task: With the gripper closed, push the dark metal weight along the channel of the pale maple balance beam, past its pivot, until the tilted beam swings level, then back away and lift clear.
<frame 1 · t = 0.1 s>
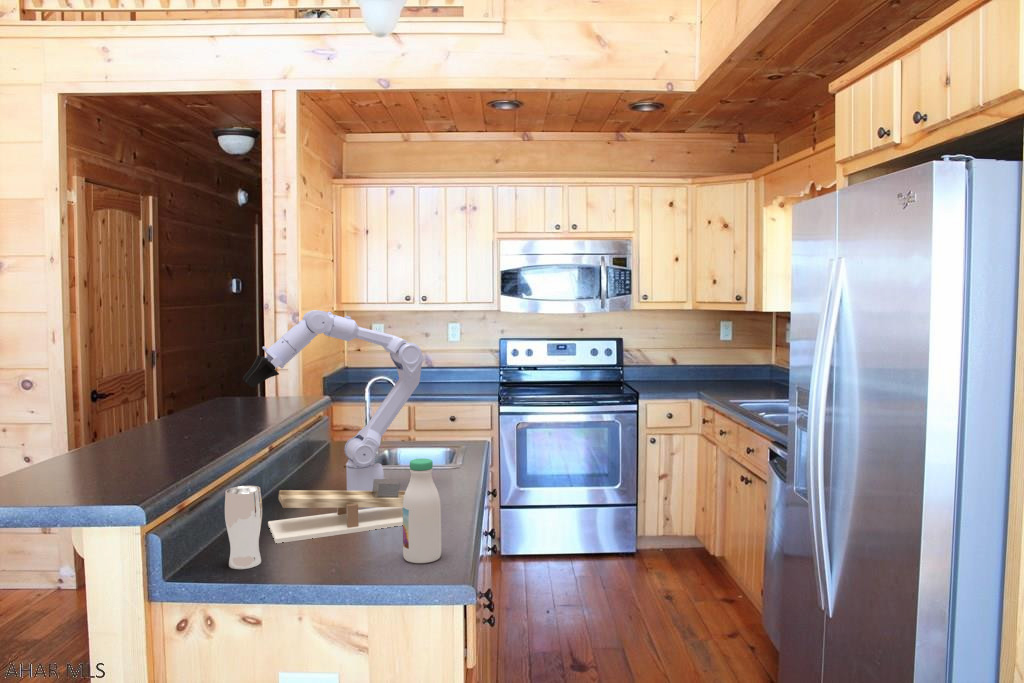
hand: (246, 383, 179), 32 cm above the counter, tool tilted 50°, fingers open, 7 cm apart
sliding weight: (384, 497, 174), point 5 cm above the counter, tilted 7°, touching balance beam
beam stand: (347, 524, 170), on the counter
milk bottle: (422, 558, 148), on the counter
beer glass: (245, 564, 145), on the counter
balance beam: (347, 500, 170), point 6 cm above the counter, hinge at -6.9°, touching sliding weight
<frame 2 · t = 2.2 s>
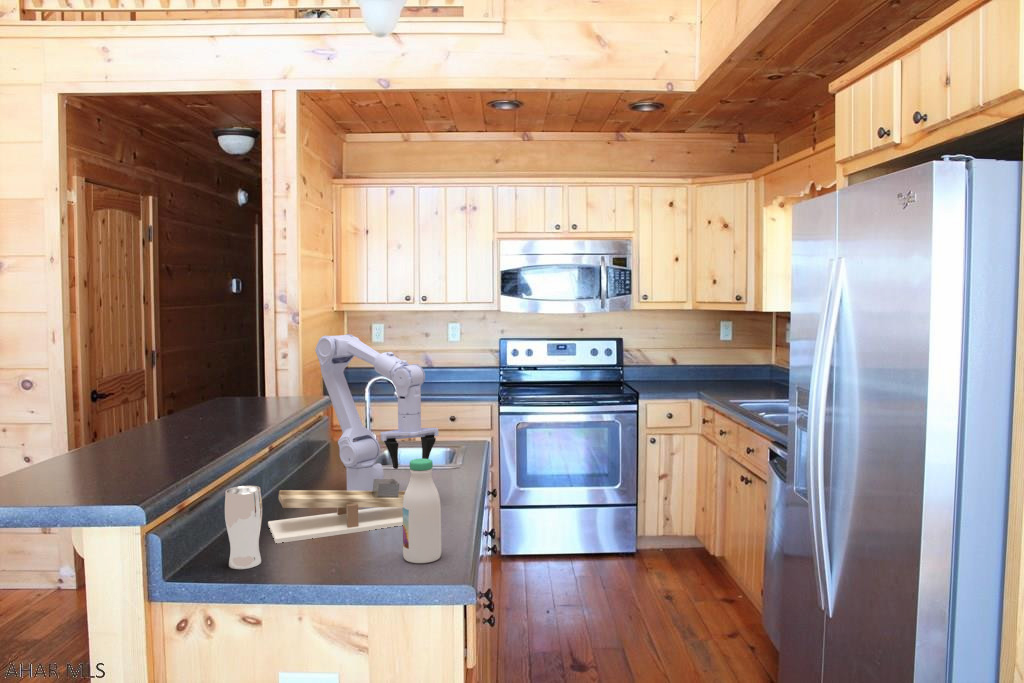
hand: (410, 466, 183), 10 cm above the counter, tool pointing down, fingers open, 7 cm apart
nothing on the counter moved.
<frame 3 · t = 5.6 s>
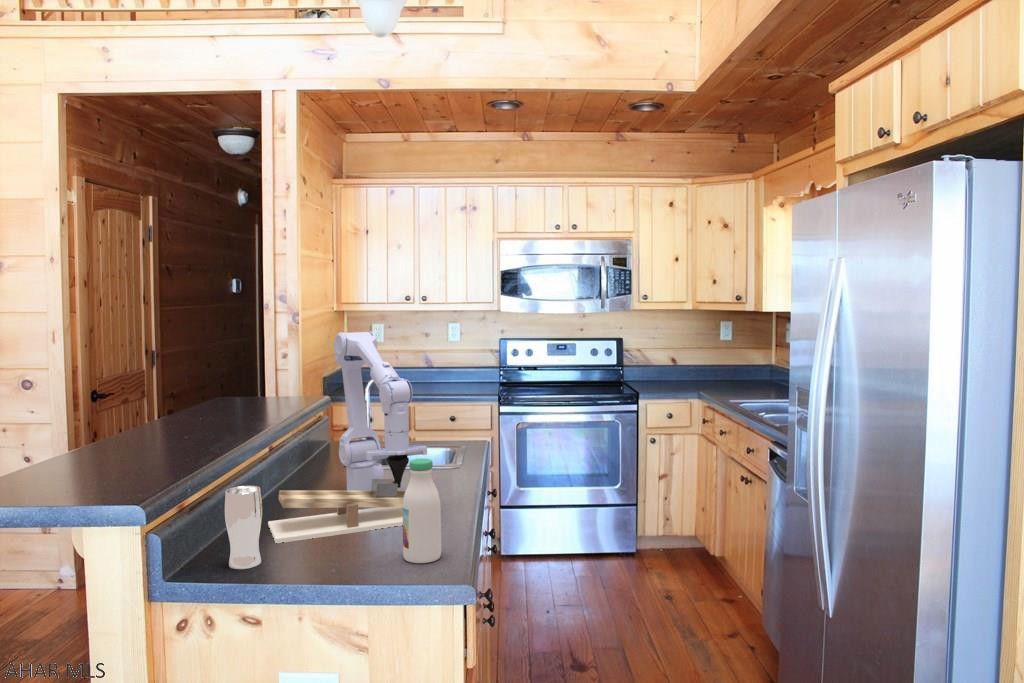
hand: (397, 486, 175), 7 cm above the counter, tool pointing down, fingers closed
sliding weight: (383, 497, 173), point 5 cm above the counter, tilted 7°, touching gripper
balance beam: (347, 500, 170), point 6 cm above the counter, hinge at -6.8°
everything else where it was.
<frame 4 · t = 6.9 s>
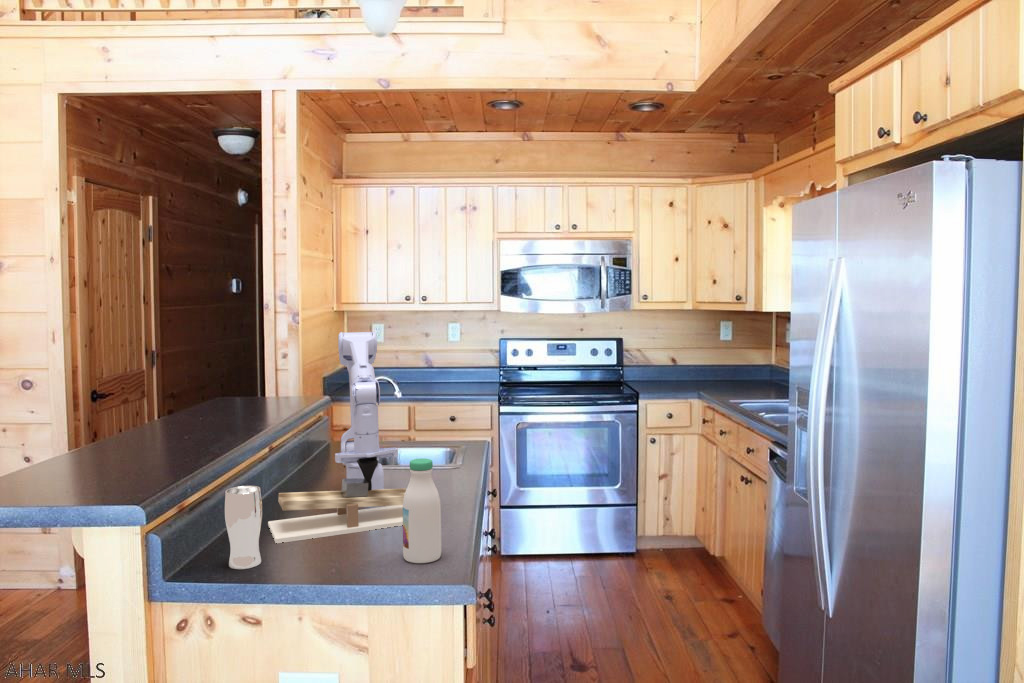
hand: (367, 489, 172), 8 cm above the counter, tool pointing down, fingers closed, pressing on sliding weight
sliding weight: (354, 497, 171), point 6 cm above the counter, touching balance beam, gripper
balance beam: (347, 500, 170), point 6 cm above the counter, hinge at -4.6°, touching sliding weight
everything else where it was.
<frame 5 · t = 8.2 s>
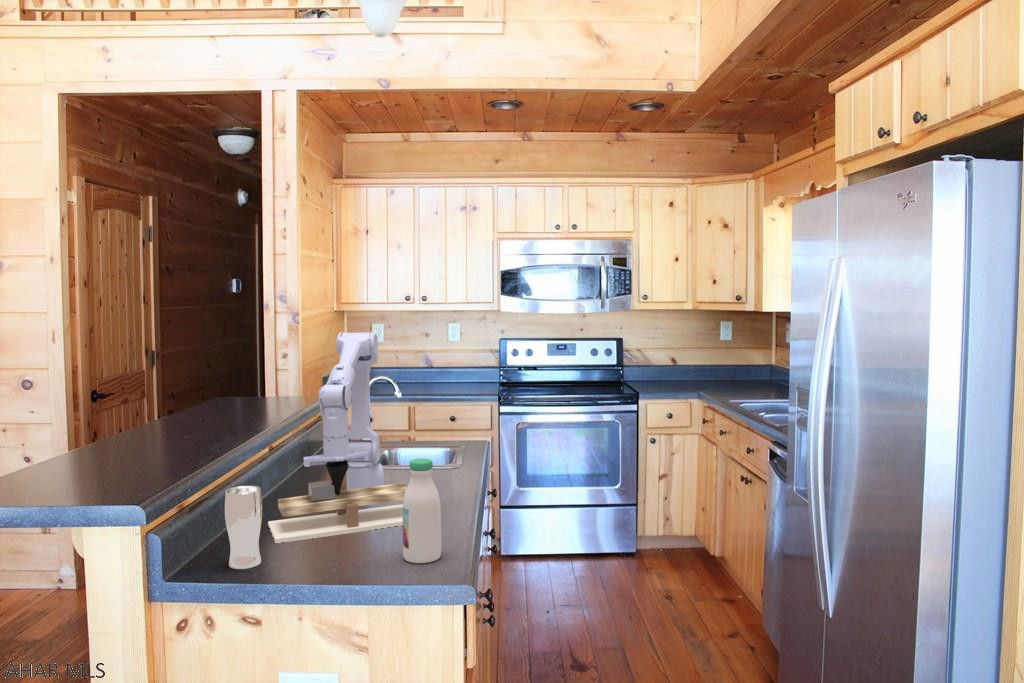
hand: (337, 493, 169), 7 cm above the counter, tool pointing down, fingers closed
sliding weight: (322, 501, 168), point 6 cm above the counter, touching gripper
balance beam: (347, 500, 170), point 6 cm above the counter, hinge at 0.9°
everything else where it was.
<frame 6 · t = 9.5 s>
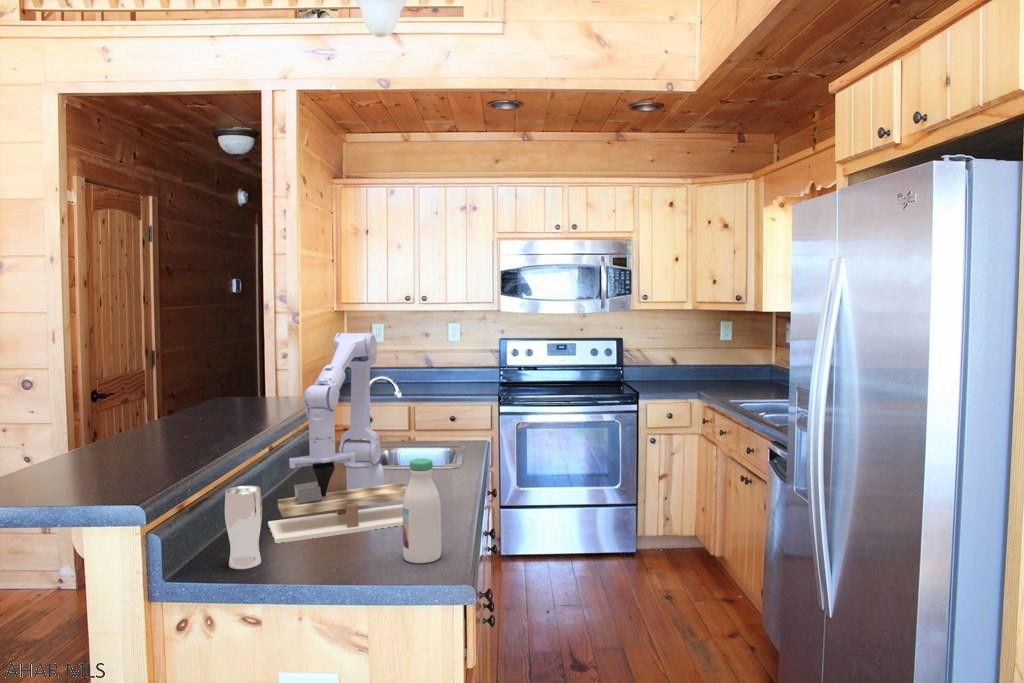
hand: (323, 495, 168), 7 cm above the counter, tool pointing down, fingers closed
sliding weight: (308, 502, 166), point 6 cm above the counter, touching gripper
everything else where it was.
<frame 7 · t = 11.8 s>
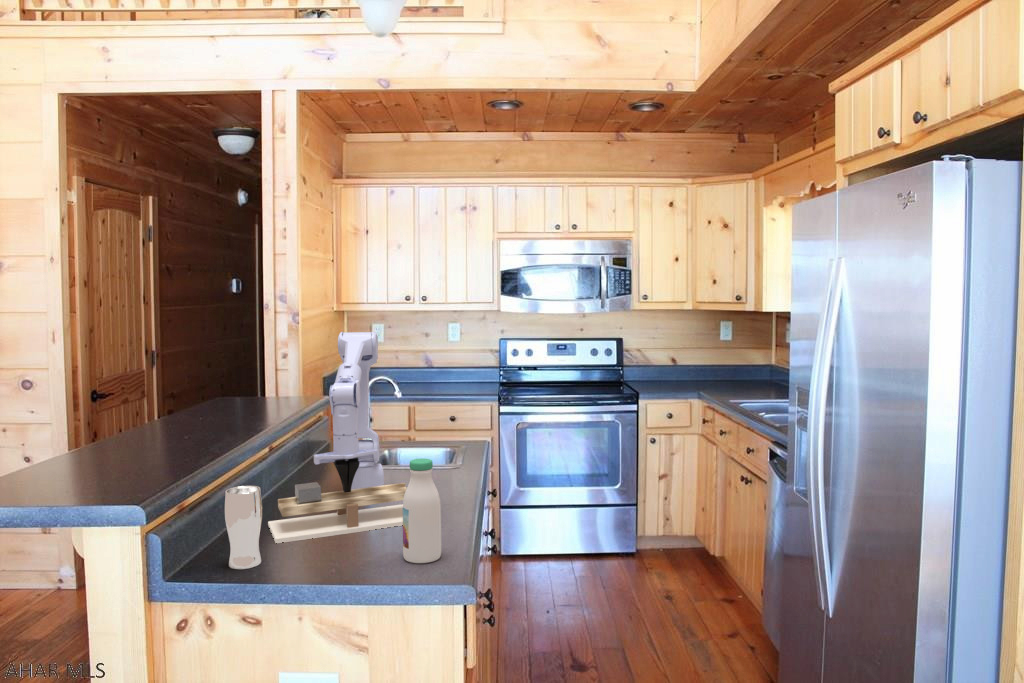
hand: (346, 491, 170), 8 cm above the counter, tool pointing down, fingers closed
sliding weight: (308, 503, 166), point 6 cm above the counter, touching balance beam
balance beam: (347, 500, 170), point 6 cm above the counter, hinge at 0.9°, touching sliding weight
everything else where it was.
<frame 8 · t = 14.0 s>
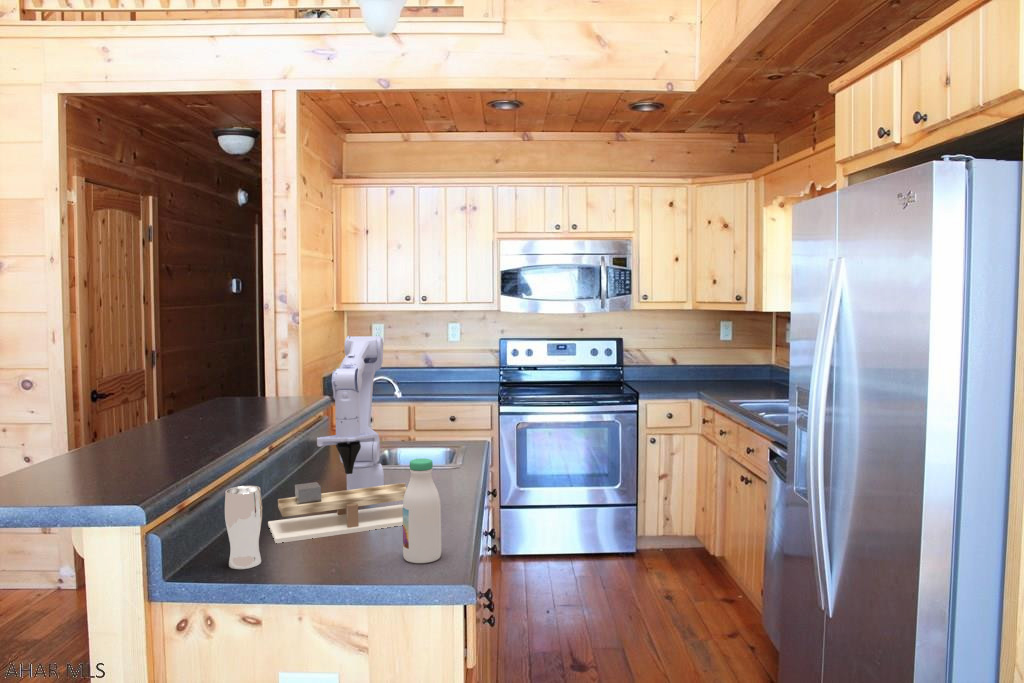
hand: (348, 473, 177), 10 cm above the counter, tool pointing down, fingers closed
nothing on the counter moved.
at the end: balance beam at +1° (first picture: -7°); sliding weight inside the target area on the balance beam (0.6 cm from its centre), point 1.1 cm above the balance beam's base; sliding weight tilted 1° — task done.
